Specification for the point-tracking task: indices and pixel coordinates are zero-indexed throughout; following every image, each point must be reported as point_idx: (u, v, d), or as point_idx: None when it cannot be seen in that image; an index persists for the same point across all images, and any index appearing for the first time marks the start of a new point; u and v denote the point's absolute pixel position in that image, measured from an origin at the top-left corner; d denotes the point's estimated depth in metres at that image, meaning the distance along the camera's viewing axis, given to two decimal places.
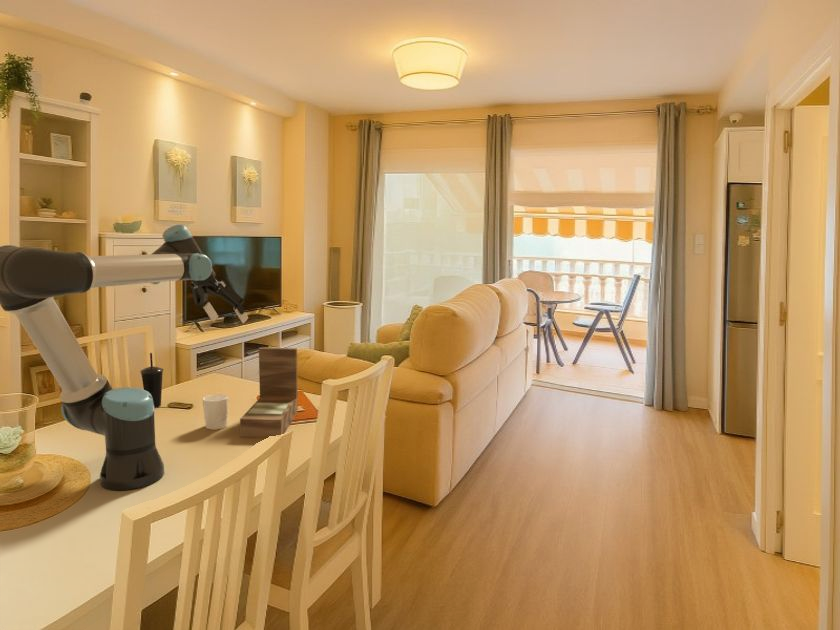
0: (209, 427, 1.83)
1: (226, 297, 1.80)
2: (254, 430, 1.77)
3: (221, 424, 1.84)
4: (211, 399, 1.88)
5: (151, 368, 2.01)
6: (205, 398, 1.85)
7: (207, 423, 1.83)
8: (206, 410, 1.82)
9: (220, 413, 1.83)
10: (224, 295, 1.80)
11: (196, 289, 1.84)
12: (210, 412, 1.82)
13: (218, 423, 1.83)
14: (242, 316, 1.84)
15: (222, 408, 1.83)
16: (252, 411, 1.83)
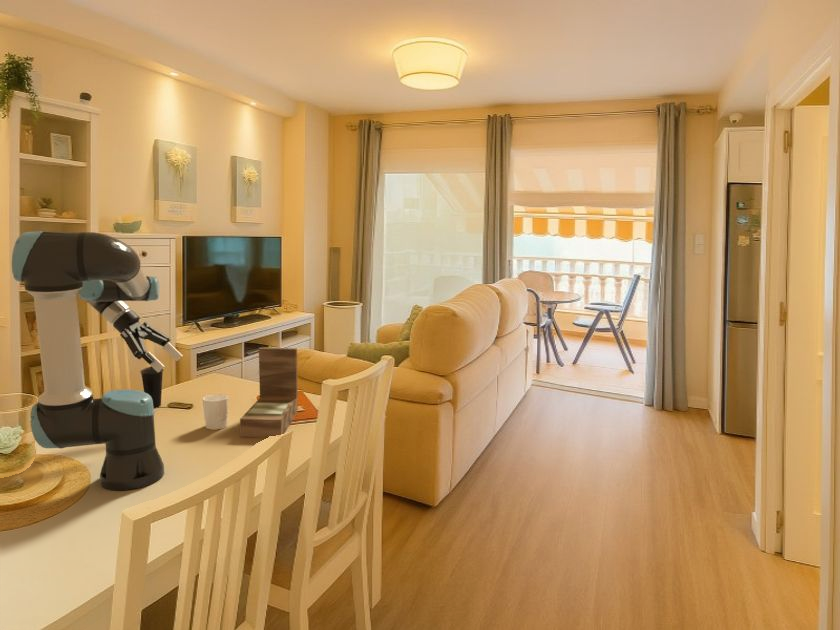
0: (209, 427, 1.83)
1: None
2: (254, 430, 1.77)
3: (221, 424, 1.84)
4: (211, 399, 1.88)
5: (151, 368, 2.01)
6: (205, 398, 1.85)
7: (207, 423, 1.83)
8: (206, 410, 1.82)
9: (220, 413, 1.83)
10: None
11: None
12: (210, 412, 1.82)
13: (218, 423, 1.83)
14: None
15: (222, 408, 1.83)
16: (252, 411, 1.83)
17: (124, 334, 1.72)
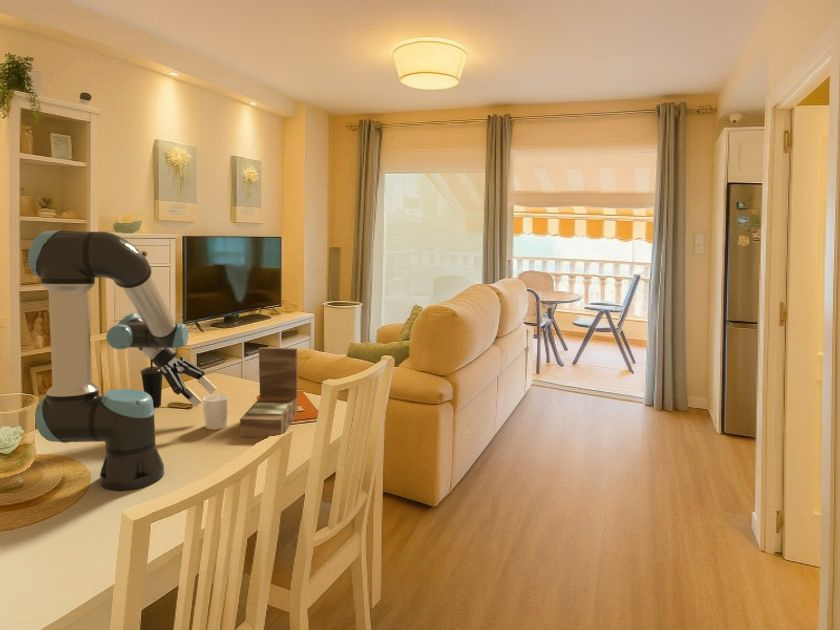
0: (209, 427, 1.83)
1: None
2: (254, 430, 1.77)
3: (221, 424, 1.84)
4: (211, 399, 1.88)
5: (151, 368, 2.01)
6: (205, 398, 1.85)
7: (207, 423, 1.83)
8: (206, 410, 1.82)
9: (220, 413, 1.83)
10: None
11: None
12: (210, 412, 1.82)
13: (218, 423, 1.83)
14: None
15: (222, 408, 1.83)
16: (252, 411, 1.83)
17: (164, 370, 1.78)
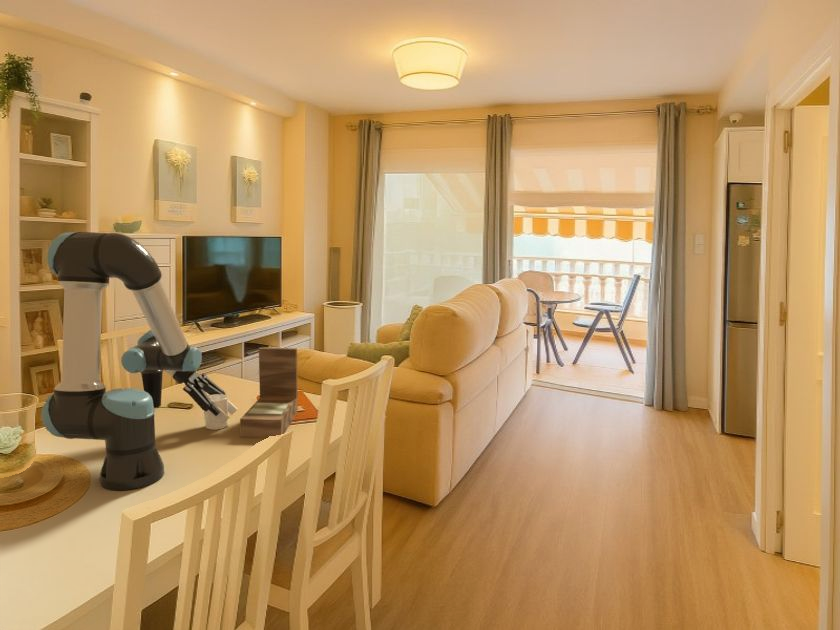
0: (209, 427, 1.83)
1: None
2: (254, 430, 1.77)
3: (221, 424, 1.84)
4: (211, 399, 1.88)
5: None
6: None
7: (207, 423, 1.83)
8: None
9: None
10: None
11: None
12: (210, 412, 1.82)
13: (218, 423, 1.83)
14: None
15: (222, 408, 1.83)
16: (252, 411, 1.83)
17: (187, 389, 1.77)
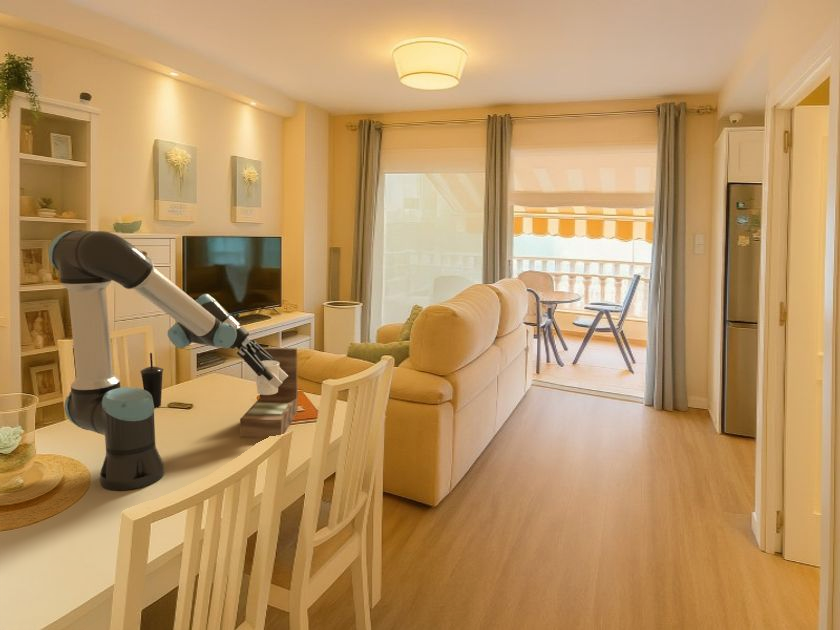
0: (261, 392, 1.82)
1: None
2: (254, 430, 1.77)
3: (273, 390, 1.83)
4: None
5: (151, 368, 2.01)
6: None
7: (259, 388, 1.82)
8: None
9: None
10: None
11: None
12: (263, 377, 1.81)
13: (270, 388, 1.82)
14: None
15: (275, 374, 1.82)
16: (252, 411, 1.83)
17: (241, 353, 1.77)
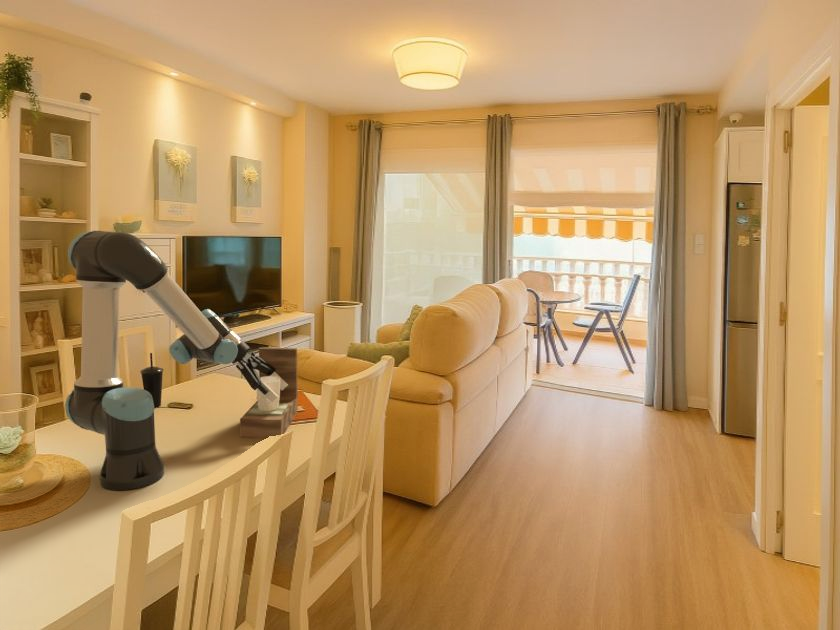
0: (262, 408, 1.83)
1: None
2: (254, 430, 1.77)
3: (274, 406, 1.84)
4: (263, 381, 1.88)
5: (151, 368, 2.01)
6: None
7: (260, 405, 1.83)
8: None
9: None
10: None
11: None
12: None
13: (271, 405, 1.83)
14: None
15: (276, 390, 1.83)
16: (252, 411, 1.83)
17: (240, 366, 1.77)
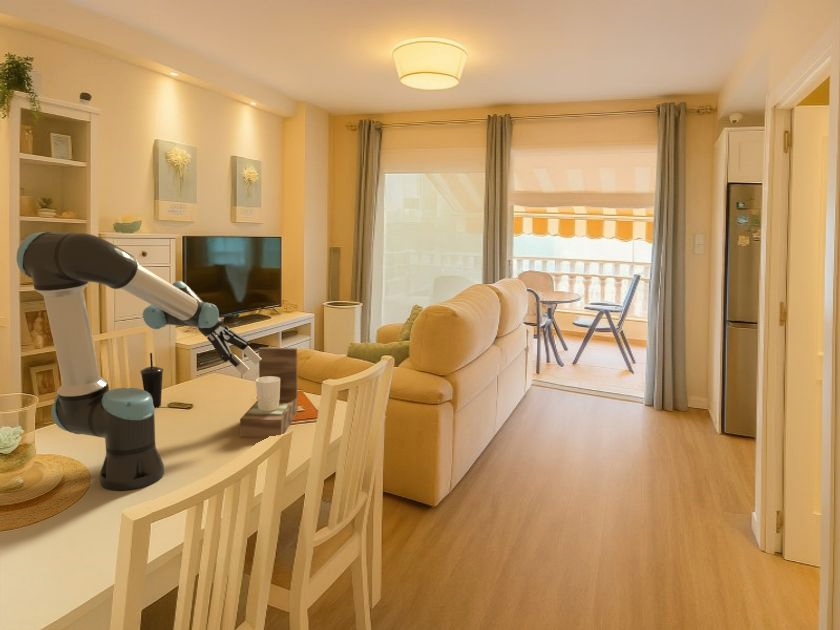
0: (262, 409, 1.83)
1: None
2: (254, 430, 1.77)
3: (274, 406, 1.84)
4: (263, 381, 1.88)
5: (151, 368, 2.01)
6: (258, 380, 1.85)
7: (260, 405, 1.83)
8: (260, 391, 1.82)
9: (273, 394, 1.83)
10: None
11: None
12: (264, 393, 1.82)
13: (271, 405, 1.83)
14: None
15: (276, 390, 1.83)
16: (252, 411, 1.83)
17: (211, 337, 1.76)
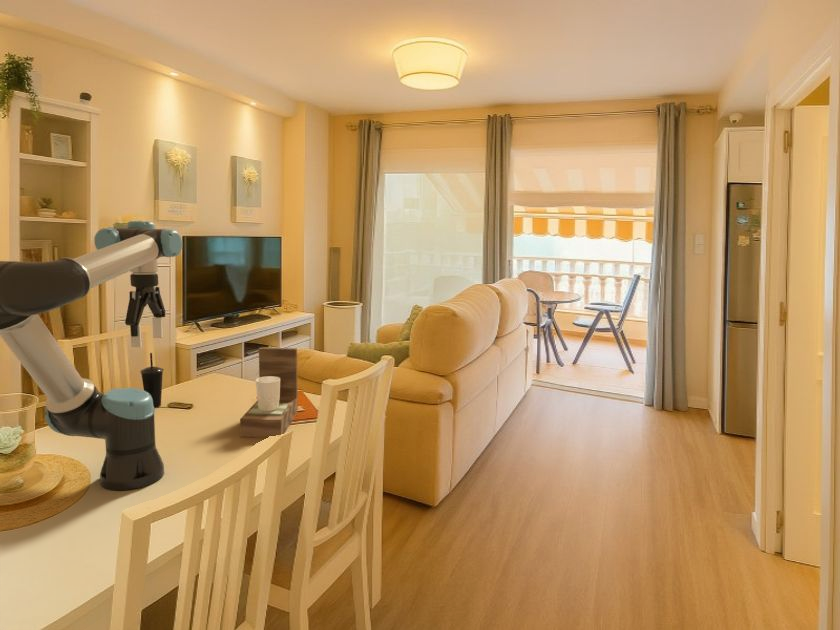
0: (262, 409, 1.83)
1: None
2: (254, 430, 1.77)
3: (274, 406, 1.84)
4: (263, 381, 1.88)
5: (151, 368, 2.01)
6: (258, 380, 1.85)
7: (260, 405, 1.83)
8: (260, 391, 1.82)
9: (273, 394, 1.83)
10: None
11: None
12: (264, 393, 1.82)
13: (271, 405, 1.83)
14: None
15: (276, 390, 1.83)
16: (252, 411, 1.83)
17: (133, 295, 1.61)
